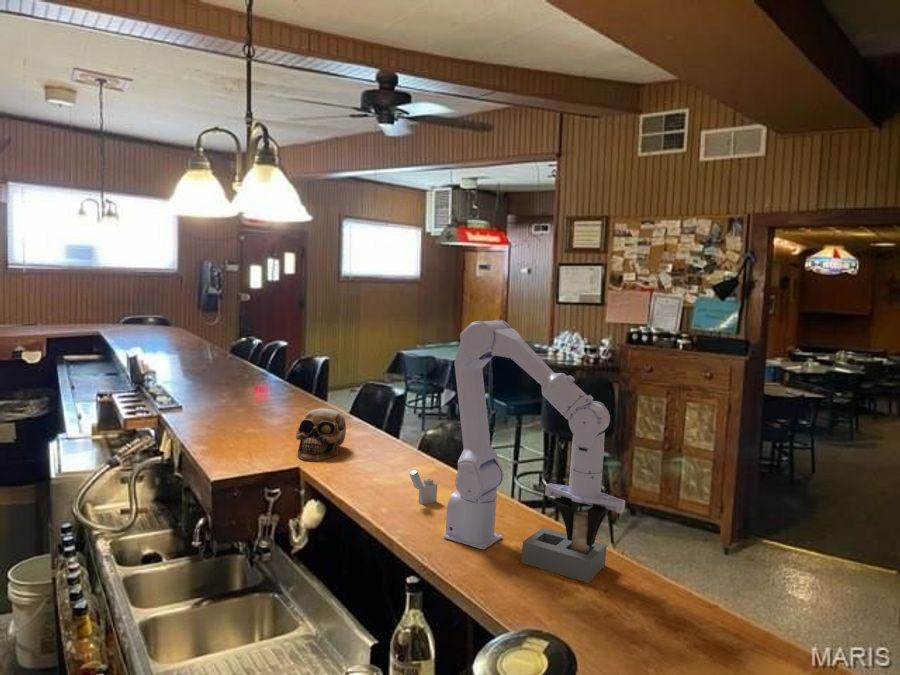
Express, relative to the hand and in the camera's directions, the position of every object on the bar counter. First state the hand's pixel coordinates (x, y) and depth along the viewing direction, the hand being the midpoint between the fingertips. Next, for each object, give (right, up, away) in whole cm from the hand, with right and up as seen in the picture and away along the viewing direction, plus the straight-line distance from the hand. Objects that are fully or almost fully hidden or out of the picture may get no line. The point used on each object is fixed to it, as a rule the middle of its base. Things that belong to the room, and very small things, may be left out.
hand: (580, 541), depth 119 cm
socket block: (-3, -5, +2) cm, 6 cm away
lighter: (-30, -1, +30) cm, 43 cm away
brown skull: (-61, +4, +67) cm, 91 cm away
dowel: (0, -3, 0) cm, 3 cm away
